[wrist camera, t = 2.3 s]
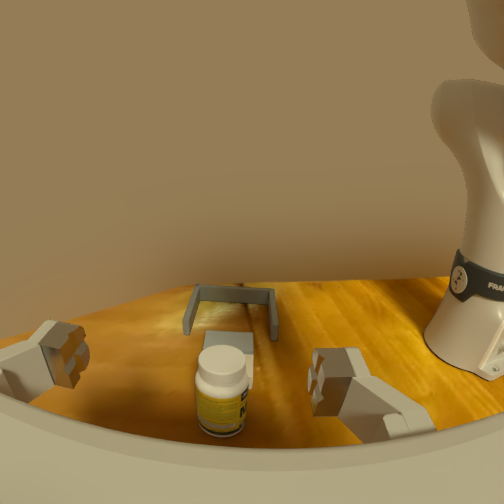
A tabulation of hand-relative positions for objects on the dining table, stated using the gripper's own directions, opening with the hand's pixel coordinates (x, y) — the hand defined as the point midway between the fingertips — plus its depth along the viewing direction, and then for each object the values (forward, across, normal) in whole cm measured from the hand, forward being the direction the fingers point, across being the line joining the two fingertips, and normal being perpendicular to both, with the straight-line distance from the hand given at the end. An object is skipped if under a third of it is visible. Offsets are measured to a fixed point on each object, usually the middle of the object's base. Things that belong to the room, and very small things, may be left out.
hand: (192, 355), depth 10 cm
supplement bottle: (+12, 0, +19) cm, 22 cm away
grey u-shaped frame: (+32, 0, +18) cm, 37 cm away
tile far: (+24, 0, +19) cm, 30 cm away
